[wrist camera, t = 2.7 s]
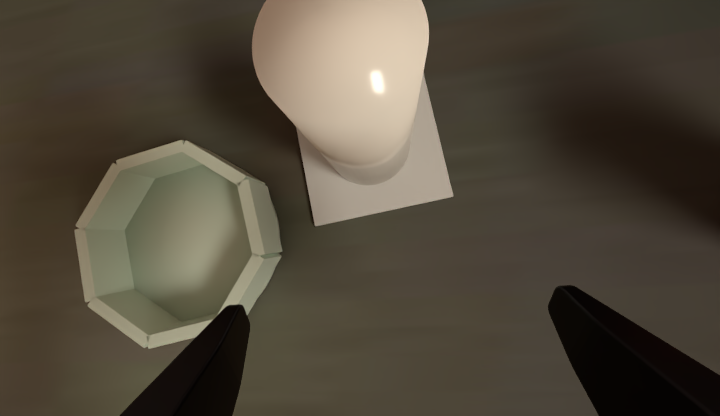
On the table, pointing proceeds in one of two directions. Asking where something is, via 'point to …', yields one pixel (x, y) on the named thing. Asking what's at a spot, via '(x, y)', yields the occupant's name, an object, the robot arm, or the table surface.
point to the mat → (407, 188)
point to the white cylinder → (346, 77)
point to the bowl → (175, 242)
